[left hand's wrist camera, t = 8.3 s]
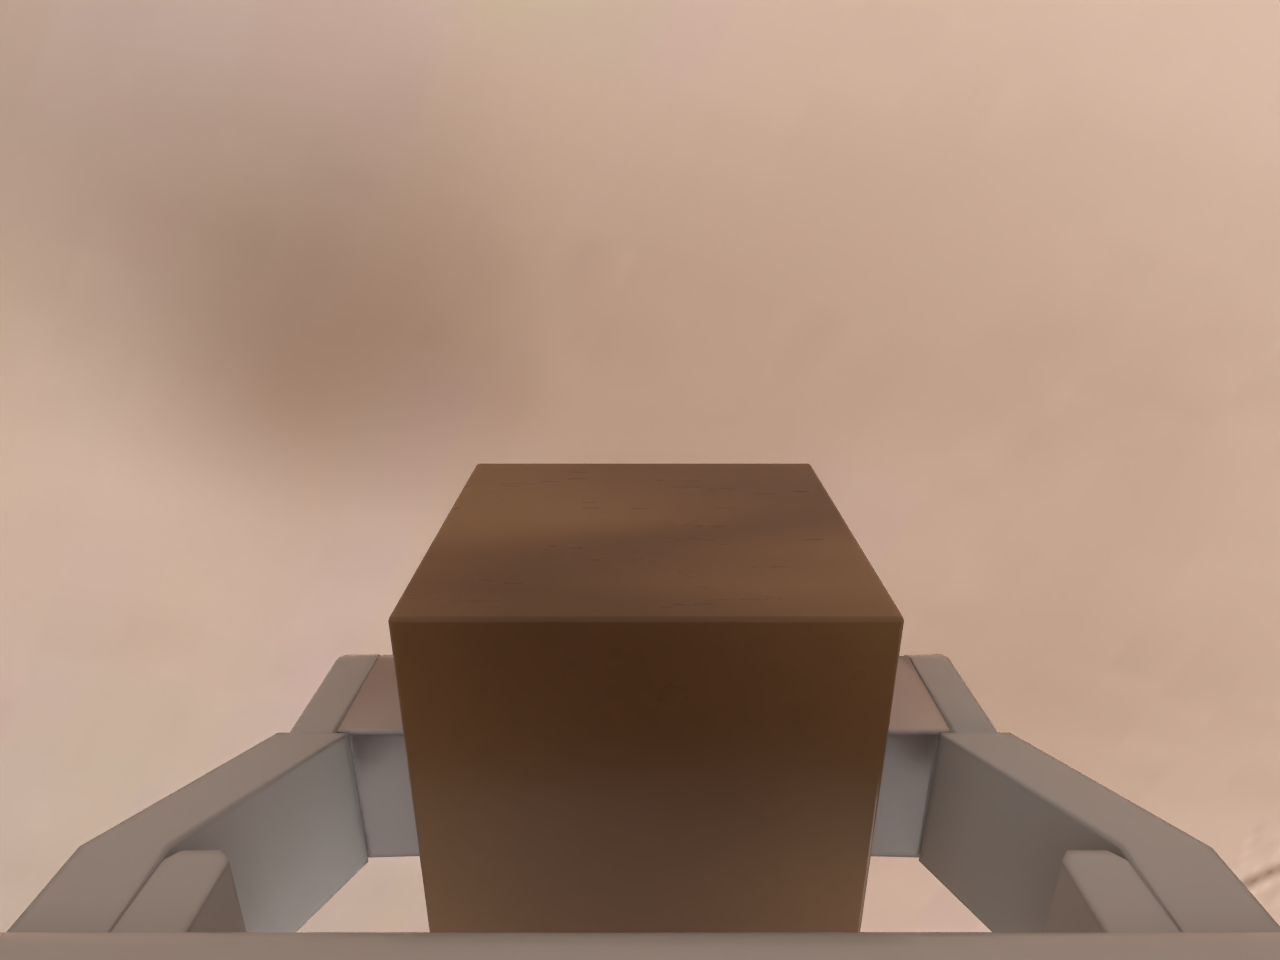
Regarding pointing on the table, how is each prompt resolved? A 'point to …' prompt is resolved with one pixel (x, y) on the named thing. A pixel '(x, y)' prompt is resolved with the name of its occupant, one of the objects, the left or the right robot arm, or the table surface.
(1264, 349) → the table surface
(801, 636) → the block
